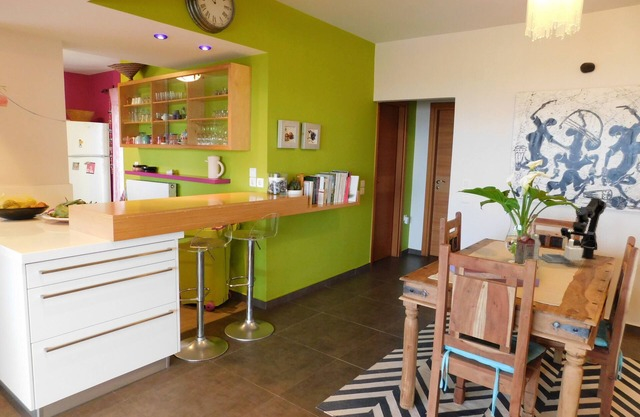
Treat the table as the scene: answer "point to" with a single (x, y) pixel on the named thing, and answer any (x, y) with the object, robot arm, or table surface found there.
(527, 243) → the juice carton
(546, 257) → the bottle holder
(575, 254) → the medicine bottle
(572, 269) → the table surface
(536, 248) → the plastic bottle
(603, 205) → the robot arm
